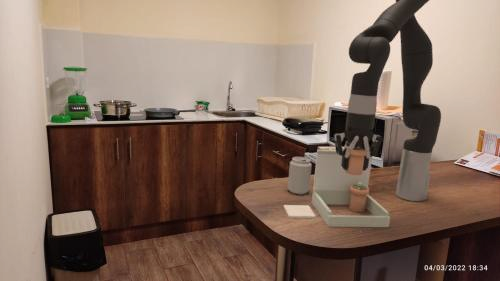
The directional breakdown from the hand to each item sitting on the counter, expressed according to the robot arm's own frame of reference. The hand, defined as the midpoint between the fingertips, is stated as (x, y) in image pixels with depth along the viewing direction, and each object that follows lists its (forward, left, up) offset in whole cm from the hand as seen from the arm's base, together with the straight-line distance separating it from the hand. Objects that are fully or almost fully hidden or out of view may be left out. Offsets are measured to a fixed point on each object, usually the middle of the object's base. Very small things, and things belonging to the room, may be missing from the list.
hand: (354, 169), depth 106 cm
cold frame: (-1, -3, -15) cm, 16 cm away
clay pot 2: (-6, -7, -15) cm, 18 cm away
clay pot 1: (0, 0, -1) cm, 1 cm away
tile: (+14, -4, -15) cm, 21 cm away
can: (+10, -22, -15) cm, 29 cm away
